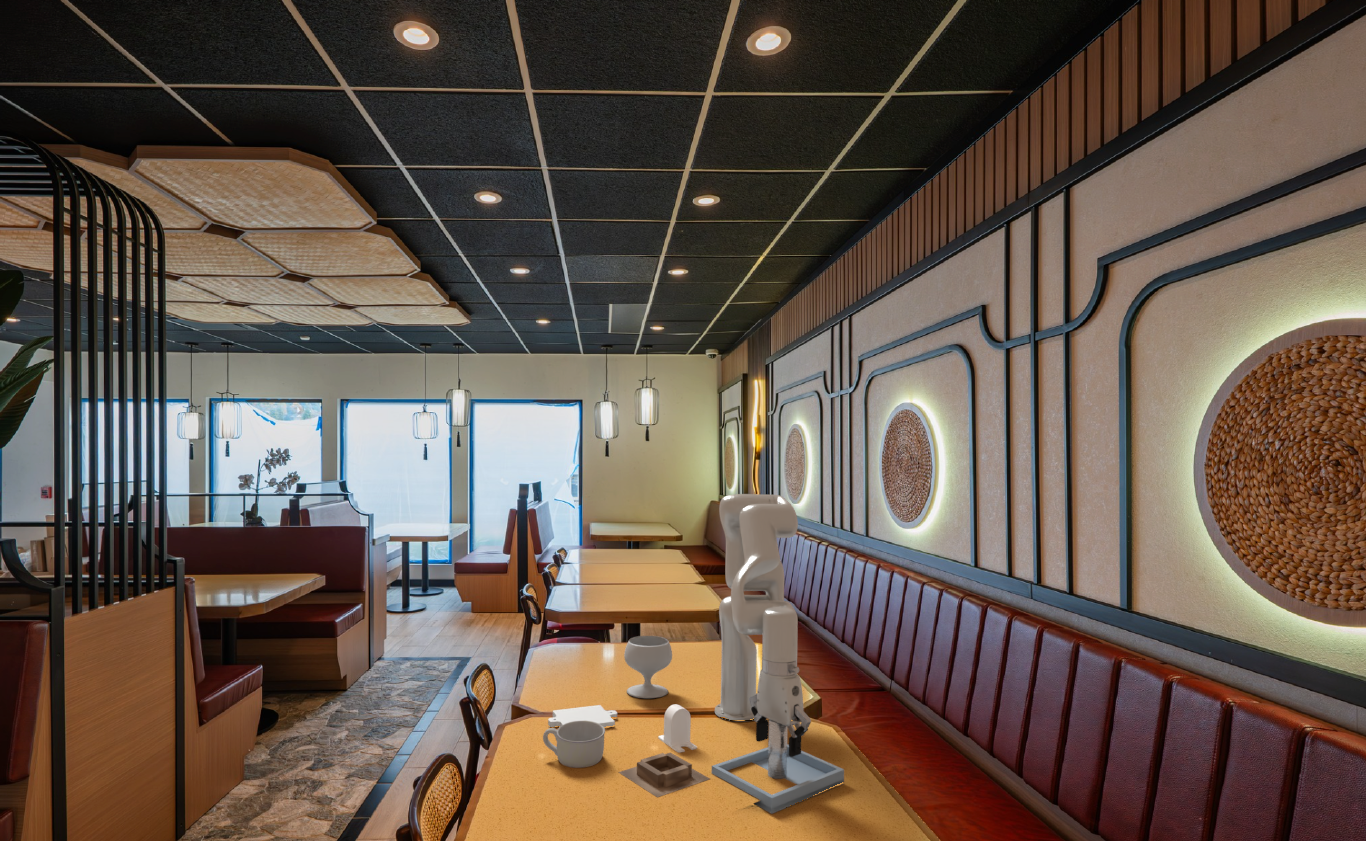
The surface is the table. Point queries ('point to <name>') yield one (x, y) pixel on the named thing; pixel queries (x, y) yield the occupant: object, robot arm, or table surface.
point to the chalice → (648, 663)
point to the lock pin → (777, 750)
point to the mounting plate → (583, 716)
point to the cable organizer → (677, 728)
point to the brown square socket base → (663, 774)
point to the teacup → (577, 743)
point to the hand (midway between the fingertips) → (778, 747)
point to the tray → (800, 770)
